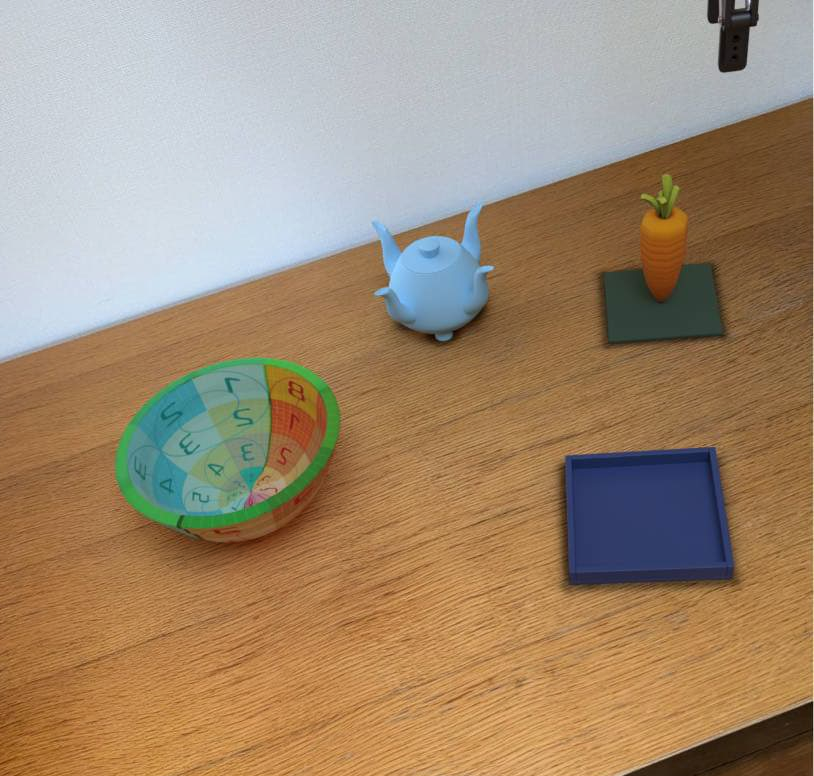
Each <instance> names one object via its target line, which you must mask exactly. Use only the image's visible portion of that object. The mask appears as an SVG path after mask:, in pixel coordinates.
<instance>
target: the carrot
mask: <svg viewBox="0 0 814 776" xmlns="http://www.w3.org/2000/svg"><path fill="white" fill-rule="evenodd" d="M661 182H662V189H661V190H660V191H658V197H657V198H654V197H653V196H651V195H649V194H646V193H642V194H641V195H640V199H641V200H642V201H645V202H647V203H648V204H650V206H651V207H652V209H650V210H647V212H645V213H644V215H643V218H642V220H641V225H640V229H639V231H640V232H639V238H640V239H639V241H640V242H639V245H640V262H641V267H642V269H643V272H644V276H645V280H646V283H647V285H648V287H649V289H650V291H651V293H652V294H653V296H654V297H655V299H656V300H657V301H659V302H663V301H665V300H666V299H667V298H668V297H669V295H670V294H671V293H672V291H673V289H674V287H675V285H676V283H677V279H678V276H679V273H680V270H681V266H682V265H683V262H684V259H685V254H686V250H687V249H686V248H687V240H688V233H689V216H688V214H686V213H685V212H684V211H682V210H681V209H680V208H679V207H677V206H676V205H675V204H676V201H677V199H678V197H679V195H680V190H681V187H680V186H678V185H674V186H673V178H672V175H670V174H668V173H665V174H663V175H661Z"/></svg>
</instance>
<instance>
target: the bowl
mask: <svg viewBox="0 0 814 776" xmlns="http://www.w3.org/2000/svg"><path fill="white" fill-rule="evenodd" d="M340 430H341V411H340V406H339V404H338V400H337V397H336V396H335V394H334V392H333V391H332V389H331V387H330V386H329V385H328V384H327V383H326V381H325V380H324V379H323V378H322V377H321V376H319V375H318V374H316V373H315V372H314V371H312V370H311V369H309V368H306V367H304V366H302V365H300V364H298V363H295V362H292V361H288V360H286V359H285V360H284V359H279V358H272V357H244V358H243V357H242V358H234V359H230V360H225V361H220V362H216V363H212V364H209V365H207V366H203V367H201V368H199V369H196V370H194V371H191V372H189V373H187V374H185V375H183V376H182V377H179V378H178V379H176V380H173V381H172V382H170V383H169V384H167V386H165V387H163V388H162V389H161V390H159V391H158V392H157V393H155V394H154V395H153V396H152V397H151V398H149V399H148V400H147V401H146V402H145V403H144V404H143V405H142V407H140V409H139V410H138V411H137V412H136V413H135V414H134V416H133V417H132V418H131V420H130V421H129V423H128V424H127V425H126V428H125V429H124V431H123V433H122V435H121V437H120V439H119V442H118V446H117V448H116V453H115V459H114V460H115V461H114V470H115V471H114V472H115V479H116V482H117V486H118V489H119V491H120V492H121V494H122V496H123V497H124V499H125V500H126V502H127V503H128V504H129V505H130V506H131V507H132V508H133V509H134V510H135V511H137V512H138V513H140V514H141V515H143V516H144V517H145V518H147V519H149V520H151V521H154V522H156V523H157V524H159V525H161V526H163V527H166V528H168V529H171V530H173V531H176V532H178V533H180V534H183V535H185V536H187V537H190V538H194V539H199V540H203V541H207V542H211V543H238V542H244V541H249V540H254V539H257V538H258V539H259V538H261V537H264V536H266V535H269V534H271V533H273V532H275V531H277V530H279V529H281V528H282V527H284V526H286V525H287V524H289V522H291V521H292V520H294V519H295V518H296V517H297V516H299V515H300V514H301V513H302V512H303V511H304V510H305V509H306V508H307V507H308V506H309V504H310V503H311V502H312V501H313V500H314V498H315V497H316V495H317V493H318V492H319V490H320V488H321V486H322V485H323V482H324V481H325V479H326V475H327V473H328V471H329V469H330V468H329V467H330V465H331V462H332V460H333V457H334V453H335V450H336V445H337V444H338V440H339V437H340Z"/></svg>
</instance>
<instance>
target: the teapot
mask: <svg viewBox="0 0 814 776" xmlns="http://www.w3.org/2000/svg"><path fill="white" fill-rule="evenodd" d="M482 208H483V203H481V202H479V203H477V204H475V205H474V206H473V207H472V208H471V209H470V210H469V212H468V214H467V217H466V220H465V224H464V231H463V238H462V241H461V243H460V242H458V241H456V240H455V239H453V238H451V237H447V236H441V235H432V236H431V235H430V236H426V237H422V238H419V239H417V240H415V241H413V242H412V243H410V244H409V245H408V246H407V247H406V248H405V249H404V250H403V251H401V250H400V248H399V246H398V245H397V242H396V240H395V239H394V237H393V235H392V233H391V232H390V231H389V229H388V228H387V226H385V225H384V224H383V223H382V222H380V221H377V220H372V221H371V226H372V228H373V229H374V230H375V232H376V233H377V235H378V237H379V239H380V243H381V247H382V248H381V249H382V260H383V265H384V268H385V270H386V273H387V275H388V277H389V278H390V279H389V284H388V286H387V287H386V286H385V287H381V288H379V289H377V290H376V291H375V292H374V296H376V297H383V299H384V302H385V308H386V311H387V313H388V315H389V317H390V318H391V319H392V320H393V321H395V322H397V323H400V324H401V325H403V326H405V327H406V328H409V329H410V330H412V331H415V332H418V333H422V334H427V335H435V339H436V340H438V341H441V342H445V341H448V340H451V338H452V337H453V336H454V333H453V331H456V330H459V329H460V328H463V327H464V326H466V325H467V324H469V323H470V322H471V321H472V320H474V318H475V317H477V315H478V314H479V313H480V312H481V311H482V310H483V308H484V307H485V306H486V304H487V302H488V300H489V297H490V289H489V283H488V280H487V276H488V274H489V273H490V272H491V271H493V270H494V269H495V267H494V266H493V265H483V266H481V265H480V259H481V256H482V245H481V239H480V235H479V230H478V229H479V228H478V221H479V216H480V213H481V211H482Z"/></svg>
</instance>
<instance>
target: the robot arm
mask: <svg viewBox="0 0 814 776" xmlns="http://www.w3.org/2000/svg"><path fill="white" fill-rule="evenodd" d="M706 4H707V5H706V6H707V7H706V18H707V19H706V20H707V22H708V23H709V24H710V25H715V24H718V25H719V35H718V53H717V68H718V71H719V72H720V73H722V74H726V73H732V72H733V73H734V72H740V71H743V70H744V69H746V67H747V65H748V56H749V55H748V54H749V45H750V44H749V43H750V42H749V41H750V31H751V28H754V27H755V28H756V27H757V25H758V22H759V21H760V20H759V19H760V15H759V4H760V0H744V7H740V8H736V0H707V3H706Z"/></svg>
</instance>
